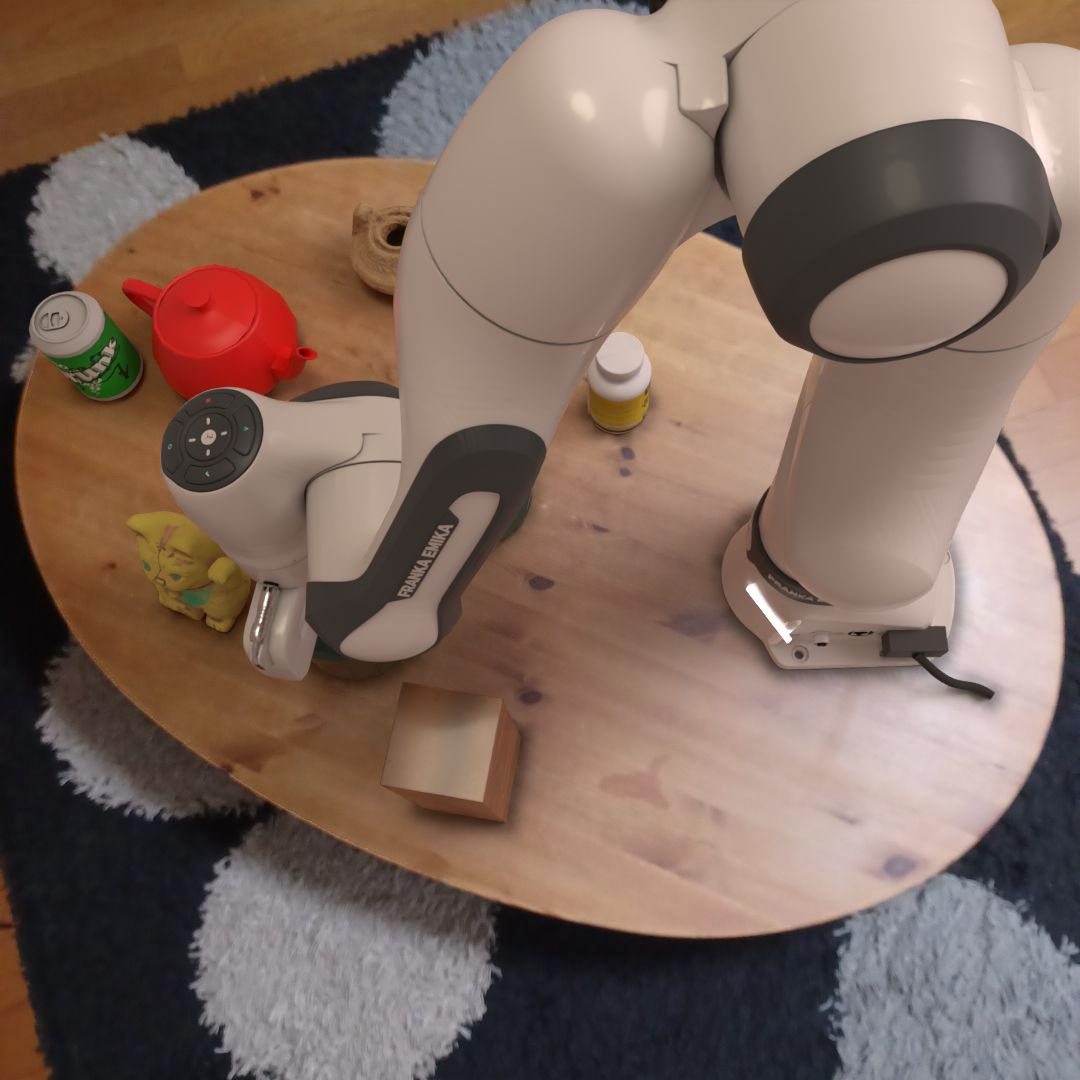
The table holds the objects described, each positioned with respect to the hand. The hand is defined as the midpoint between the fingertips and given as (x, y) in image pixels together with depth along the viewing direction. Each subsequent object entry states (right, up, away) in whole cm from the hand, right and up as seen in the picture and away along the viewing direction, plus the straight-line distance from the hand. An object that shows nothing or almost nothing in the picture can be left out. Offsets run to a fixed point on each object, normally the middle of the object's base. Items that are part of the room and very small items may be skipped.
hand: (329, 581), depth 89 cm
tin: (+1, -4, +12) cm, 13 cm away
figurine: (-14, -1, +14) cm, 20 cm away
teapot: (-14, +24, +23) cm, 36 cm away
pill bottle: (+27, +18, +18) cm, 37 cm away
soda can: (-29, +22, +23) cm, 43 cm away
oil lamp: (+5, +34, +26) cm, 43 cm away
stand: (+12, -18, +6) cm, 23 cm away
